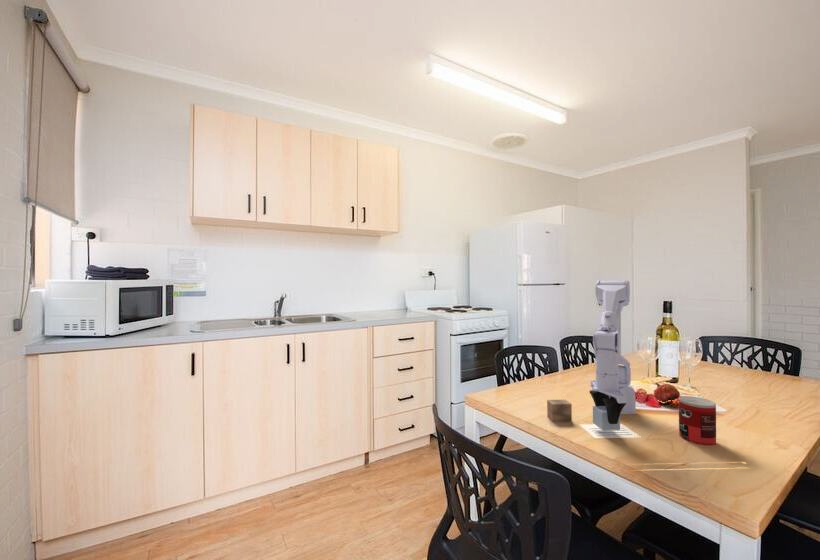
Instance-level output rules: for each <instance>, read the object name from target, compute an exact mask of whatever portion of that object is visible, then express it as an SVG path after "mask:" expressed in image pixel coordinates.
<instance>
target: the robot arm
mask: <svg viewBox="0 0 820 560" xmlns="http://www.w3.org/2000/svg"><path fill="white" fill-rule="evenodd" d="M594 289H595V290H594V291H595V297H596V300H597V303H598V304H599V305H600V306H602V312H600V313H599V314H598V317H597V325H596V331H594V332H593V335H592V345H593V350H594V351H593V352H594V353H593V354H594V356H595V380H593V379H592V380H590V387H591V390H589V394H590V395H591V397H592V399H593V402H594V406H606V410H607V416H608V422H609V423H610V424H617V423H618V420H619V416H620V417H621V415H632V414H633V415H634V414H638V412H636V409H637V407H636V392H635V389H634V387H633V386H632V385H631V382H632V381H631V380H632V379H631V377H632V374H631V373H632V372H631V371H632V370H631V363H630V361H629V360H628V359H627V358H625V357H624V356H622V353H621V352H622V346H621V345H622V343H621V342H622V339H621V338H622V331H621V330H622V328H621V327H622V318H621V317H622V312H623V308H624V307H628V306H629V304H630V296H631V286H630V281H629V280H628V279H626V280H599V279H598V280H596V282H595V288H594Z"/></svg>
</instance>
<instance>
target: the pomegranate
mask: <svg viewBox="0 0 820 560" xmlns="http://www.w3.org/2000/svg"><path fill="white" fill-rule="evenodd" d="M655 385H656V386H657V387H656V388H655V389H654V390H653V398H654V399H655V398H656V399H657V400H659V401H662V402H666V401H668V400H671V403H672V402H674V401H676V400H677V399H679V397H680V395H681V393H680V391H679V390H678V388H676V387H675V386H674V385H672V384H669V383H663V384H659V383H658V382H656V383H655ZM656 399H655V400H656ZM675 399H676V400H675ZM657 400H656V401H657ZM672 400H674V401H672Z"/></svg>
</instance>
